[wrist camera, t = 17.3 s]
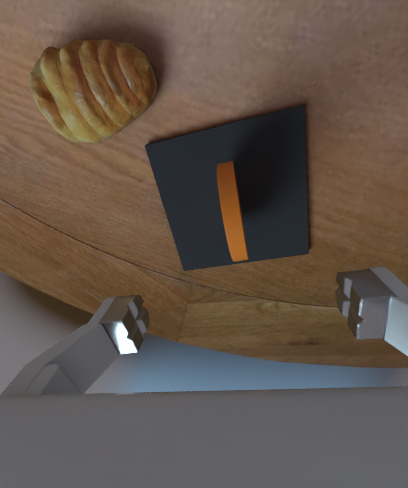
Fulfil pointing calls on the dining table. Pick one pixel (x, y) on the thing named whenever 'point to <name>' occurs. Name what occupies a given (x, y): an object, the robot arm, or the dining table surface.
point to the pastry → (92, 87)
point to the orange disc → (231, 211)
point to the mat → (248, 184)
